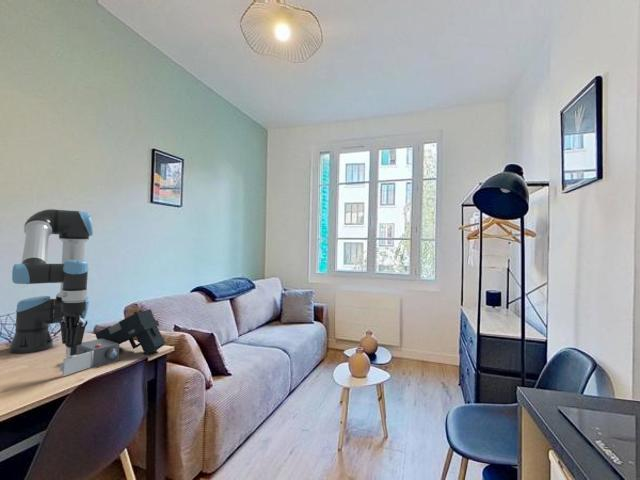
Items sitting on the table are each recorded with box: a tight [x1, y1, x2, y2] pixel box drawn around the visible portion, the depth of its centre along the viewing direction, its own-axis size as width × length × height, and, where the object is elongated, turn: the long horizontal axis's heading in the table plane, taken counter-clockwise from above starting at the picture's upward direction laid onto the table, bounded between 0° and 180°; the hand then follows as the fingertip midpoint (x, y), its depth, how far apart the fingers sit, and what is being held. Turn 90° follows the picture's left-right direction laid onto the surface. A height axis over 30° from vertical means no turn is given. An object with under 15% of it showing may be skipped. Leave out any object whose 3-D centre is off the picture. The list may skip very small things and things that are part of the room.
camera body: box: [76, 338, 120, 368], centre depth 139 cm, size 16×10×8 cm, turn 59°
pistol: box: [94, 308, 166, 356], centre depth 154 cm, size 10×27×20 cm, turn 79°
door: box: [59, 350, 94, 377], centre depth 127 cm, size 11×2×6 cm, turn 160°
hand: (70, 363), depth 125 cm, fingers closed
